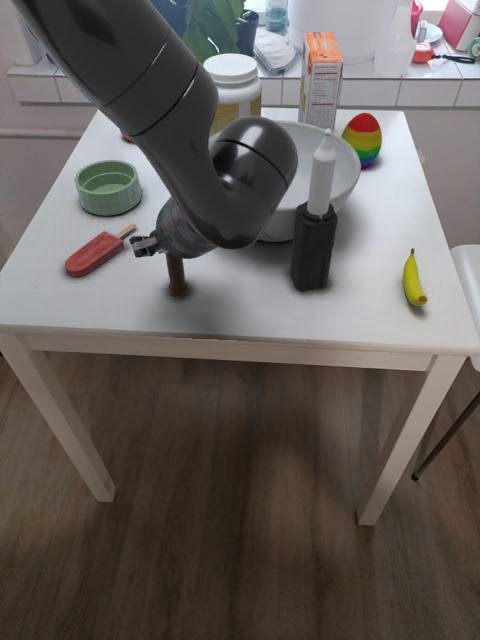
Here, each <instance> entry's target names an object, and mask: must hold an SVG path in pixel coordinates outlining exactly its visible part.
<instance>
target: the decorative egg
mask: <svg viewBox="0 0 480 640" xmlns="http://www.w3.org/2000/svg"><path fill="white" fill-rule="evenodd" d="M340 137H341V138H342V139H344V140H345V141H346V142H348V143H349V144H350V145H351V146H352V147H353V149H354V150H355V151H356V153H357V155H358V157H359V159H360V163H361V169H365V168H367V167H369V166H370V165H372V163H374V162H375V161H376V159H377V158H378V156H379V154H380V152H381V149H382V145H383V144H382V143H383V134H382V128H381V126H380V123H379V121H378V120H377V118H376V117H375V116H374V115H373V114H371V113H370V112H362V113H358V114H357V115H355V116H354V117H352V118H351V119H350V120H349V121H348V123H346V126H345V127H344V128H343V131H342V133H341V135H340Z"/></svg>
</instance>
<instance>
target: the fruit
mask: <svg viewBox="0 0 480 640" xmlns="http://www.w3.org/2000/svg"><path fill="white" fill-rule="evenodd" d="M403 266H404V267H403V271H402V279H403V280H402V281H403V287H404V292H405V295H406V298H407V300H408V302H409V303H410V304H411V305H413V306H416V307H417V306H424V305H426V304H427V303H428V301H429V297H428V296H427V294H426V293H424V291H423V290H422V288H421V285H420V278H419V267H418V265H417V260H416V258H415V248H411V249H410V254H409V256H408V258H407V259H406V261H405V264H404V265H403Z"/></svg>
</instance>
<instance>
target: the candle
mask: <svg viewBox="0 0 480 640" xmlns="http://www.w3.org/2000/svg"><path fill="white" fill-rule="evenodd" d="M331 133H332V131H331V130H330V129H326V130H325V136H324V138H323V140H322V142H321V145H320V146H319V148H318V149H317V150H316V151H315V152H314V154H313V162H312V171H311V179H310V188H309V196H308V201H306V202H305V203H303V204H300V205H298V206H297V208H296V218H295V228H294V238H293V239H292V241H293V242H292V249H291V259H290V270H289V276H290V279H291V280H292V284H293V285H294V288H295V289H296V290H297V291H299V292H306V291H309V290H316V289H320V290H322V289H325V288H326V287H327V284H328V278H329V272H330V267H331V261H332V255H333V250H334V245H335V238H336V233H337V227H338V222H339V217H338V215H337V212H336V213H335V211H334V207H333V206H332V204H330V203H329V202H330V195H331V189H332V182H333V176H334V169H335V163H336V153H335V151H334V149H333V147H332V142H331V136H330V135H331Z"/></svg>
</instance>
